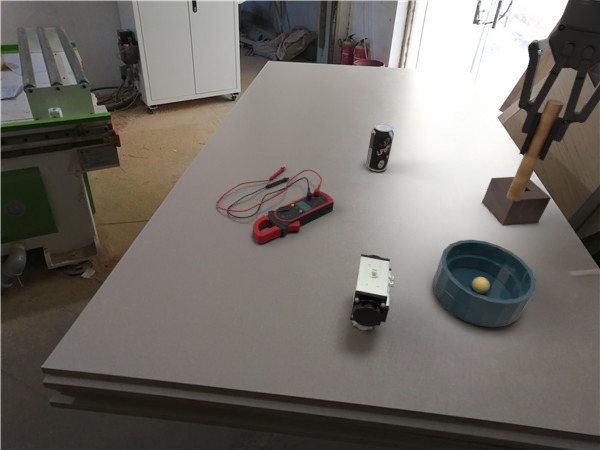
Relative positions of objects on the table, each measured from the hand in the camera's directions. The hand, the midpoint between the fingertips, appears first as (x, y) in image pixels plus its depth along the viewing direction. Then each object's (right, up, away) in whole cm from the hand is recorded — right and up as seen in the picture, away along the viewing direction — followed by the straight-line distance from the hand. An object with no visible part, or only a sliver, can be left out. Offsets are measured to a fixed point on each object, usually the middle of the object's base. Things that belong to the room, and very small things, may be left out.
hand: (532, 153), depth 68 cm
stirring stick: (0, -7, +6) cm, 9 cm away
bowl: (-7, -25, +6) cm, 27 cm away
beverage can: (-19, +3, +42) cm, 46 cm away
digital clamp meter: (-45, -7, +27) cm, 53 cm away
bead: (-7, -23, +5) cm, 24 cm away
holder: (+11, -9, +28) cm, 32 cm away
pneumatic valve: (-28, -29, +1) cm, 40 cm away
